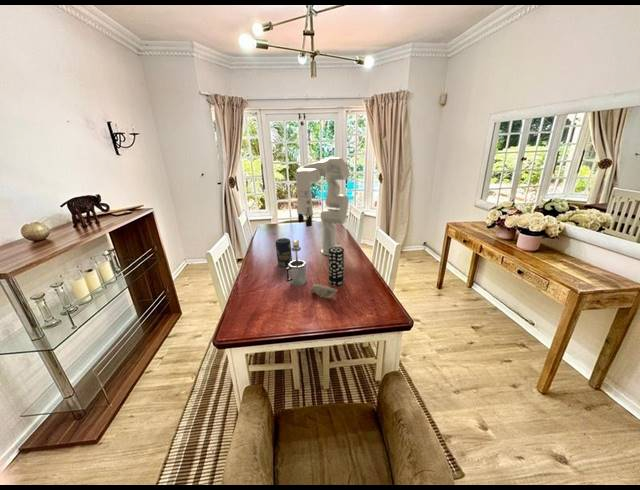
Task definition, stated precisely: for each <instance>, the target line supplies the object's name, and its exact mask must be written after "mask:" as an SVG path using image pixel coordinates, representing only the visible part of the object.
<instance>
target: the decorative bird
mask: <svg viewBox="0 0 640 490" xmlns="http://www.w3.org/2000/svg"><path fill="white" fill-rule="evenodd" d="M338 291H339V289H337V288H333V287H332V286H327V285H320V284H318V283H315V284H313V285H312V286H311V292H312V294H314V293H315V294H317V295H318V296H319V297H320V298H324V299H329V300H330V299H331V300H332V301H334V302H333V303H336V302H337V301H339V298H340V297H337V296H336V293H337V292H338ZM334 296H335V298H336V299H334V298H333V297H334Z"/></svg>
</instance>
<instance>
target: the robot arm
mask: <svg viewBox="0 0 640 490" xmlns="http://www.w3.org/2000/svg"><path fill="white" fill-rule="evenodd" d="M323 176H324V177H325V181H326V183H327V192H326V197H325V206H326V207H327V208H325V209H322V211H321V212H320V221H321V230H322V249H321V250H320V253H321V254H322V255H325V256H329V248H332V247H341V248H343V247H342V245H341V244H337V227H336V225H344V224H345V223H346V219H347V215H348V211H349V210H348V209H349V204H350V203H349V200H350V199H349V196H348V195H346V194H341V193H340V192H341V186H340V183H339V182H338V181H346V180H348V179H349V177H350V168H349V167H348V165H347V163H346V161H344V159H343V158H342V157H340V156H339V157H334V156H333V157H329V156H328V157H324V158H323V159H321V160H319V161H318V162H317V161H316V162H312V163H310V164H305V165H303V166H300V167H299V168H297V169H296V170H295V173H294V178H295V179H294V180H295V184H296V187H295V188H296V197H297V200H296V202H297V204H296V205H297V206H296V212H297V219H298V220H297V221H298V223H299V224H301V223H304V222H305V225H306V226H305V227H307V228H309V227H312V225H313V221H312V220H313V214H314V212H313V211H314V210H313V202H312V195H311V193H312V191H311V184H316V183H318V182H319V181H320V179H321V177H323ZM304 217H305V218H306V219H305V220H304Z"/></svg>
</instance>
